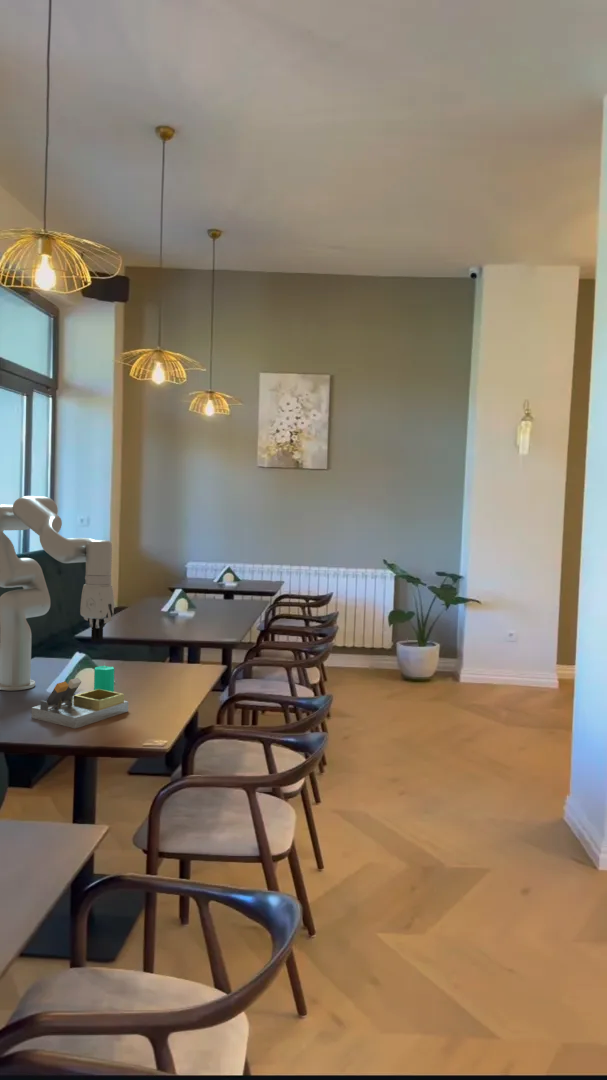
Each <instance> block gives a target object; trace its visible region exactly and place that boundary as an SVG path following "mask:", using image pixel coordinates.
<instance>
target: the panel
mask: <svg viewBox="0 0 607 1080" xmlns="http://www.w3.org/2000/svg"><path fill="white" fill-rule="evenodd" d="M39 703H40V704H38V705H36V706H32V707H31V718H32V719H34V720H35V719H36V720H39V721H43V722H46V723H51V724H56V725H59V726H64V727H67V728H71V729H74V730H75V729H78V728H82V727H84V726H87V725H90V724H91V725H92V724H93V723H94V724H95V723H96V722H97V723H98V722H100V721H103V720H106V719H108V718H112V717H115V716H118V715H121V714H124V713H125V714H126V713H127V712H129V701H127V700H125V694H124V693H121V692H117V691H114V692H113V691H108V690H103V689H95V690H94V689H92V690H89V691H85V692H81V693H77V694H74V695H73V696H72V698H71V700H69V702H67V703H63V704H62V698H60V700H59V702H58V703H57V704H56V705H55V706H52V707H49V708H48V702H47V700H40V702H39Z"/></svg>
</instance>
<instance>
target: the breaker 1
mask: <svg viewBox="0 0 607 1080" xmlns="http://www.w3.org/2000/svg"><path fill="white" fill-rule="evenodd" d="M68 687H69V685H68V682H67V681H62V682H58V683H56V684H55V686H54V688H53V690H52V691H51V692H50V694H49V696H48V697H47V699H46V701H47V702H48V708H49V707H52V706H55V705H56V704H57V703H58V702H59V700H60V698H61V697H62V695H63V694H64V692H65V691H66V690H67V688H68Z"/></svg>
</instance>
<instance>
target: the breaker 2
mask: <svg viewBox="0 0 607 1080" xmlns="http://www.w3.org/2000/svg"><path fill="white" fill-rule="evenodd" d="M67 684H68V685H69V687H68V688H67V690H66V691H65V692H64V694H63V695H62V697H61V698H62V704H63V703H67V702H69V700H71V698H72V696H74V695H75V693H76V691H77V689H78V688H79V687H80V685H81V684H82V680H81V679H80V678H79V677H76V678H72V679H69V681H68V682H67Z"/></svg>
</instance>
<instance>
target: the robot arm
mask: <svg viewBox="0 0 607 1080" xmlns="http://www.w3.org/2000/svg"><path fill="white" fill-rule="evenodd" d="M58 511H59V510H58V506H57V503H56V502H55V501H54V499H52V498H50V497H49V496H48V497H47V496H42V495H41V496H40V495H37V496H36V495H24V496H21V497H18V498H17V499H16V500H15V501H14V502H13V504H0V588H4V589H6V588H8V589H9V588H21V587H22V589H15V590H14V589H13V590H9V591H7V592H4V593H3V594H1V595H0V690H1V691H11V692H13V691H24V690H29V689H32V688H34V687H35V686H36V680H33V679H32V678H31V673H32V672H31V671H32V630H31V627H30V625H29V623H28V621H27V619H29V618H37V617H41V616H44V615H46V614H47V613H48V612H49V610H50V608H51V596H50V593H49V589H48V586H47V583H46V579H45V575H44V573H43V569H42V567H41V565H40V563H38V561H37V560H35V559H33V558H30V557H18V555H17V553H16V549H15V545H14V544H13V542H12V540H11V538H9V537H8V535H6V534H5V533H4V531H24V530H25V531H26V530H31V531H33V532H34V533H35V534H36V535H38V536H39V538H38V539H39V542H40V545H41V548H42V550H43V551H45V552H46V553H47V554H48V555H49V556H50V557H52V558H53V559H54V560H56V561H58V562H60V563H62V564H75V563H85V576H84V579H85V584H83V586H82V590H81V591H82V592H81V597H80V609H79V610H80V611H79V613H80V616H81V617H83V619H84V620H85V621H87V622H88V623H89V627H90V628H91V633H90V634H91V641H92V642H100V641H103V640H104V639H103V638H104V628H105V626H106V624H109V623H112V622H113V621H112V620H113V618H112V617H113V616H114V611H115V600H114V598H115V597H114V591H113V585H112V564H113V563H112V561H113V560H112V559H113V557H112V556H113V555H112V554H113V552H112V551H113V547H112V542H111V541H110V540H107V539H94V538H89V537H67V538H66V537H64V536H62V535H61V534H60V530H61V528H62V524H63V520H62V518H61V517H60V516H59V515H58Z"/></svg>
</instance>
